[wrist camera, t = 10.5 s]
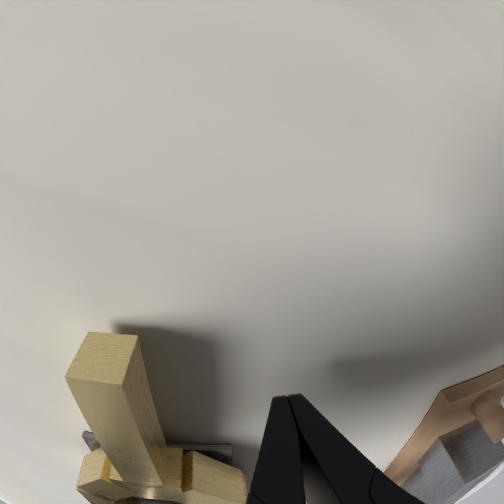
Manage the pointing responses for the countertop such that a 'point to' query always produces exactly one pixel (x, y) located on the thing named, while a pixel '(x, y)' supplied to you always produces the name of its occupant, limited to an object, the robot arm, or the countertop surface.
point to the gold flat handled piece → (137, 434)
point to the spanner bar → (454, 465)
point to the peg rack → (454, 419)
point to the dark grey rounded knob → (212, 451)
